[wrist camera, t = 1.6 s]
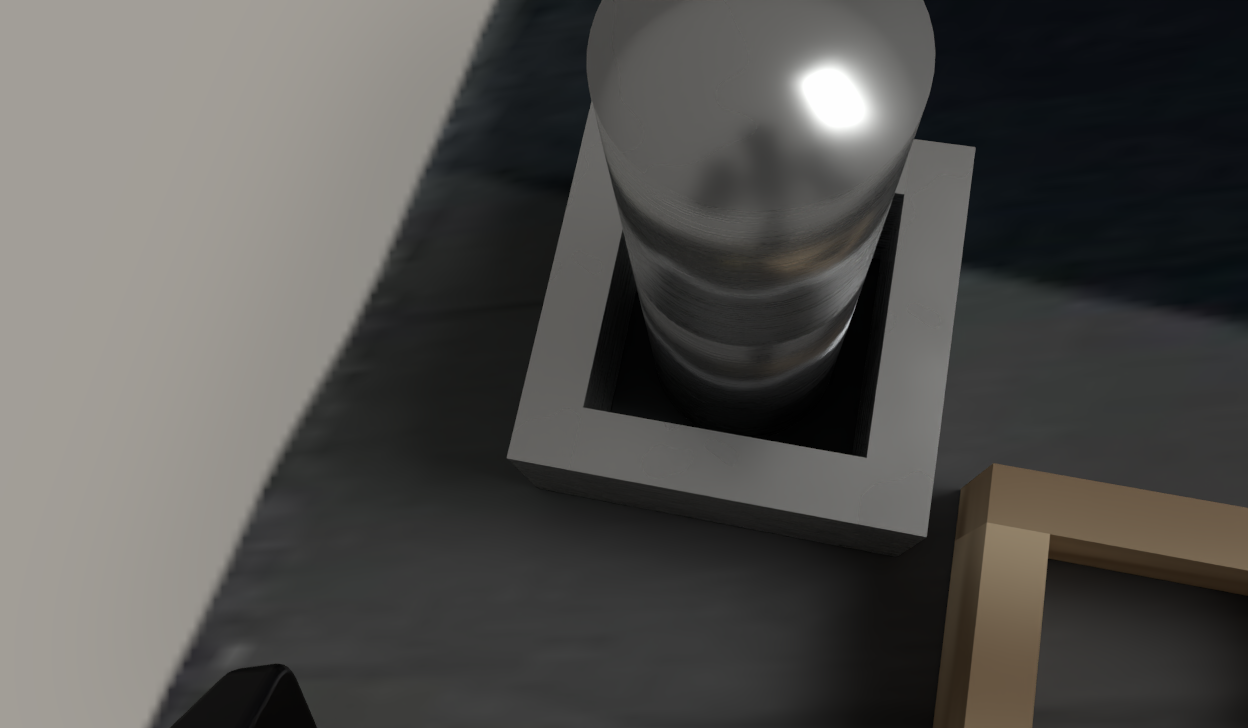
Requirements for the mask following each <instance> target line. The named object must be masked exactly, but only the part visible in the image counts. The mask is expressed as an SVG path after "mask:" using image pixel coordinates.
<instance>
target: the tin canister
mask: <svg viewBox="0 0 1248 728" xmlns="http://www.w3.org/2000/svg"><path fill="white" fill-rule="evenodd" d="M934 65H935V44H934V33H933V29H932V25H931V21H930V17H929V13H928V11H927V8H926V6H925V4H924V1H923V0H602V2H601V4H600V6H599V8H598V10H597V12H596V15H595V18H594V21H593V24H592V27H591V30H590V35H589V41H588V47H587V77H588V85H589V91H590V95H591V99H592V103H593V108H594V112H595V116H596V120H597V124H598V128H599V133H600V137H601V141H602V145H603V149H604V153H605V158H606V162H607V166H608V170H609V174H610V178H611V183H612V187H613V191H614V195H615V199H616V203H617V208H618V212H619V216H620V220H621V224H622V228H623V233H624V237H625V241H626V245H627V249H628V253H629V258H630V262H631V266H632V270H633V274H634V278H635V283H636V287H637V291H638V295H639V299H640V303H641V308H642V312H643V316H644V320H645V324H646V328H647V333H648V337H649V341H650V345H651V349H652V353H653V358H654V362H655V366H656V370H657V374H658V377H659V381H660V383H661V385H662V387H663V390H664V392H665V393H666V395H667V397H668V398H669V400H670V401H671V402H672V404H673V405H674V406H675V407H676V409H677V410H678V411H679V412H680V413H681V414H683V415H684V416H685V417H686V418H687V419H689V420H690V421H691V422H693V423H694V424H696V425H697V426H699V427H701V428H703V429H707V430H712V431H718V432H723V433H729V434H735V435H740V436H746V437H752V438H757V437H764V436H768V435H771V434H775V433H777V432H780V431H782V430H785V429H787V428H789V427H790V426H792V425H794V424H795V423H797V422H798V421H800V420H801V419H802V418H803V417H805V416H806V415H807V414H808V413H809V412H810V411H811V410H812V409H813V408H814V407H815V406H816V404H817V403H818V402H819V400H820V399H821V397H822V396H823V394H824V392H825V390H826V388H827V386H828V383H829V381H830V378H831V375H832V373H833V370H834V367H835V364H836V361H837V358H838V355H839V352H840V349H841V347H842V344H843V341H844V338H845V335H846V332H847V329H848V326H849V324H850V321H851V318H852V315H853V312H854V309H855V306H856V303H857V301H858V298H859V295H860V292H861V289H862V286H863V283H864V280H865V278H866V275H867V272H868V269H869V266H870V263H871V260H872V257H873V255H874V252H875V249H876V246H877V243H878V240H879V237H880V234H881V232H882V229H883V226H884V223H885V220H886V217H887V214H888V211H889V209H890V206H891V203H892V200H893V197H894V194H895V191H896V188H897V186H898V183H899V180H900V177H901V174H902V171H903V168H904V165H905V163H906V160H907V157H908V154H909V151H910V148H911V145H912V142H913V140H914V137H915V134H916V131H917V128H918V125H919V122H920V119H921V116H922V114H923V111H924V108H925V105H926V102H927V99H928V96H929V93H930V89H931V85H932V80H933V75H934Z"/></svg>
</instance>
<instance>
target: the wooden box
mask: <svg viewBox="0 0 1248 728" xmlns="http://www.w3.org/2000/svg"><path fill="white" fill-rule="evenodd" d="M1048 558H1049V559H1054V560H1059V561H1065V562H1070V563H1075V564H1081V565H1086V566H1091V567H1097V568H1102V569H1107V570H1113V571H1118V572H1123V573H1129V574H1134V575H1139V576H1145V577H1150V578H1155V579H1161V580H1166V581H1171V582H1177V583H1182V584H1187V585H1193V586H1198V587H1203V588H1209V589H1214V590H1219V591H1225V592H1230V593H1235V594H1241V595H1246V596H1248V508H1245V507H1239V506H1233V505H1228V504H1222V503H1216V502H1211V501H1205V500H1199V499H1194V498H1188V497H1182V496H1176V495H1171V494H1165V493H1159V492H1154V491H1148V490H1142V489H1137V488H1131V487H1125V486H1119V485H1114V484H1108V483H1102V482H1097V481H1091V480H1085V479H1080V478H1074V477H1068V476H1063V475H1057V474H1051V473H1045V472H1040V471H1034V470H1028V469H1023V468H1017V467H1011V466H1006V465H1000V464H994V463H993V464H992V465H991V466H989V467H988V468H987V469H986V470H984V471H983V472H982V473H980V474H979V475H978V476H977V477H975V478H974V479H973V480H972V481H970V482H969V483H968V484H966V485H965V486H964V487H963V488H961V493H960V502H959V510H958V519H957V527H956V536H955V544H954V553H953V561H952V570H951V578H950V587H949V595H948V604H947V612H946V620H945V629H944V637H943V646H942V654H941V663H940V671H939V680H938V688H937V697H936V705H935V714H934V722H933V728H1032V722H1033V712H1034V701H1035V690H1036V679H1037V669H1038V658H1039V647H1040V637H1041V626H1042V615H1043V605H1044V594H1045V583H1046V572H1047V562H1048Z"/></svg>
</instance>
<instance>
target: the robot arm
mask: <svg viewBox="0 0 1248 728" xmlns="http://www.w3.org/2000/svg"><path fill="white" fill-rule="evenodd" d="M170 728H317V726H316V724H315V722H314V719H313V717H312V715H311V712H310V710H309V708H308V705H307V703H306V701H305V698H304V696H303V693H302V691H301V689H300V686H299V684H298V682H297V679H296V677H295V676H294V674H293V672H292V671H291V670H290V669H289V668H288V667H287V666H285V665H282V664H270V665H263V666H255V667H248V668H241V669H237V670H234V671H231V672H229V673H227V674H226V675H225V676H224V677H222V678H221V679H220V680H219V681H218V682H217V683H216V684H215V685H214V686H213V687H212V688H211V689H210V690H209V691H208V692H207V693H205V694H204V695H203V696H202V697H201V698H200V699H199V700H198V701H197V702H196V703H195V704H194V705H193V706H192V707H191V708H190V709H189V710H188V711H187V712H186V713H185V714H184V715H183V716H182V717H181V718H179V719H178V720H177V721H176V722H175V723H174V724H173V725H172V726H171V727H170Z"/></svg>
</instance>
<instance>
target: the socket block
mask: <svg viewBox="0 0 1248 728" xmlns="http://www.w3.org/2000/svg"><path fill="white" fill-rule="evenodd" d="M974 155H975V147H969V146H962V145H954V144H946V143H939V142H931V141H924V140H916V139H914V140H913V142H912V145H911V148H910V151H909V154H908V157H907V160H906V163H905V165H904V168H903V171H902V174H901V177H900V180H899V183H898V186H897V188H896V191H895V194H894V197H893V200H892V203H891V206H890V209H889V211H888V214H887V217H886V220H885V223H884V226H883V229H882V232H881V234H880V237H879V240H878V243H877V246H876V249H875V252H874V255H873V257H872V258H874V259H880V266H879V273H878V280H877V286H876V293H875V300H874V307H873V313H872V320H871V327H870V334H869V341H868V347H867V354H866V361H865V368H864V374H863V381H862V388H861V395H860V401H859V408H858V415H857V422H856V429H855V435H854V442H853V449H852V455H847V454H841V453H836V452H830V451H825V450H819V449H813V448H808V447H802V446H796V445H791V444H785V443H780V442H774V441H768V440H763V439H757V438H752V437H746V436H740V435H735V434H729V433H723V432H718V431H712V430H707V429H701V428H695V427H690V426H684V425H679V424H673V423H667V422H662V421H656V420H650V419H645V418H639V417H634V416H628V415H622V414H617V413H611V412H610V411H611V407H612V402H613V397H614V393H615V388H616V383H617V378H618V374H619V369H620V364H621V360H622V355H623V350H624V346H625V341H626V336H627V332H628V327H629V322H630V318H631V313H632V308H633V304H634V299H635V294H636V290H637V287H636V283H635V278H634V274H633V270H632V266H631V262H630V258H629V253H628V249H627V245H626V241H625V237H624V233H623V228H622V224H621V220H620V216H619V212H618V208H617V203H616V199H615V195H614V191H613V187H612V183H611V178H610V174H609V170H608V166H607V162H606V158H605V153H604V149H603V145H602V141H601V137H600V133H599V128H598V124H597V120H596V116H595V112H594V108H593V103H592V102H591V106H590V110H589V115H588V119H587V123H586V127H585V131H584V136H583V140H582V144H581V148H580V152H579V157H578V161H577V165H576V169H575V173H574V178H573V182H572V186H571V190H570V194H569V199H568V203H567V207H566V211H565V215H564V219H563V224H562V228H561V232H560V236H559V240H558V245H557V249H556V253H555V257H554V261H553V266H552V270H551V274H550V278H549V282H548V287H547V291H546V295H545V299H544V303H543V308H542V312H541V316H540V320H539V324H538V329H537V333H536V337H535V341H534V345H533V349H532V354H531V358H530V362H529V366H528V370H527V375H526V379H525V383H524V387H523V391H522V396H521V400H520V404H519V408H518V412H517V417H516V421H515V425H514V429H513V433H512V438H511V442H510V446H509V450H508V454H507V459H508V460H509V461H510V462H511V463H512V464H513V465H514V466H515V467H516V468H517V469H518V470H519V471H520V472H521V473H522V474H523V475H525V476H526V477H527V478H528V479H529V480H530V481H531V482H532V483H533V484H534V485H535V486H536V487H537V488H539V489H544V490H550V491H555V492H560V493H565V494H570V495H576V496H581V497H586V498H591V499H597V500H602V501H607V502H612V503H617V504H623V505H628V506H633V507H638V508H644V509H649V510H654V511H659V512H664V513H670V514H675V515H680V516H685V517H691V518H696V519H701V520H706V521H711V522H717V523H722V524H727V525H732V526H738V527H743V528H748V529H753V530H759V531H764V532H769V533H774V534H779V535H785V536H790V537H795V538H800V539H806V540H811V541H816V542H821V543H826V544H832V545H837V546H842V547H847V548H853V549H858V550H863V551H868V552H873V553H879V554H884V555H889V556H894V557H898V556H899V555H901V554H902V553H904V552H905V551H907V550H908V549H910V548H911V547H913V546H914V545H916V544H917V543H919V542H920V541H922V540H923V539H925V538H926V537H927V530H928V522H929V514H930V506H931V498H932V491H933V483H934V475H935V467H936V459H937V451H938V443H939V435H940V427H941V419H942V411H943V403H944V395H945V387H946V379H947V371H948V363H949V355H950V347H951V339H952V331H953V323H954V315H955V307H956V299H957V291H958V283H959V275H960V267H961V259H962V251H963V243H964V235H965V227H966V219H967V211H968V203H969V195H970V187H971V179H972V171H973V163H974Z"/></svg>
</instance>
